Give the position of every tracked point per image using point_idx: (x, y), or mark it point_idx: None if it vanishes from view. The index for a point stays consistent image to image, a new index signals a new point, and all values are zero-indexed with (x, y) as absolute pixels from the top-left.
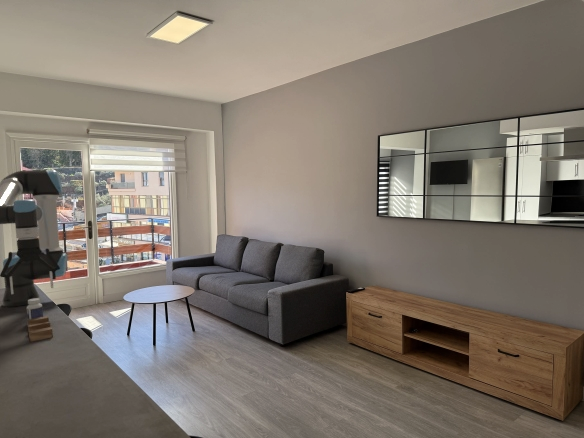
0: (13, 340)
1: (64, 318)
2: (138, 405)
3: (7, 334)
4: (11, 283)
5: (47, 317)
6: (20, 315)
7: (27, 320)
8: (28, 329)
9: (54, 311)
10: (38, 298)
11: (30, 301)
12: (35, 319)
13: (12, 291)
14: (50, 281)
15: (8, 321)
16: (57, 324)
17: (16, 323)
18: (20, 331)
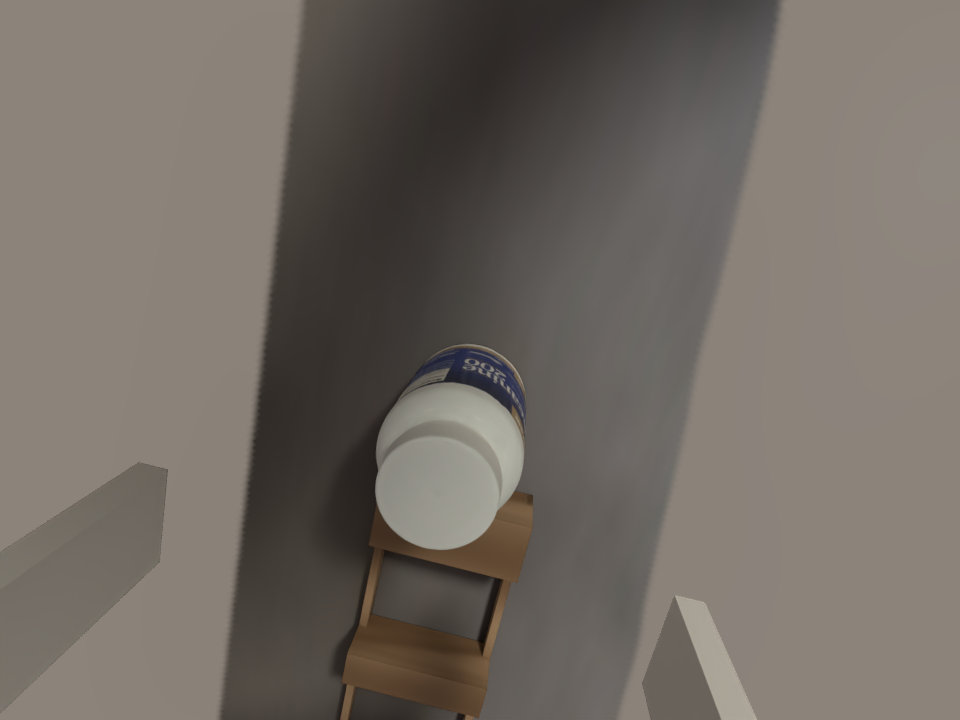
0: (267, 660)
1: (666, 477)
2: None
3: (255, 507)
4: (6, 689)
5: (513, 570)
6: None
7: (375, 514)
8: (365, 594)
9: (720, 139)
10: (491, 494)
11: (392, 525)
12: None
13: (123, 584)
14: (691, 705)
15: (313, 116)
16: (564, 583)
17: (352, 261)
18: (333, 516)
